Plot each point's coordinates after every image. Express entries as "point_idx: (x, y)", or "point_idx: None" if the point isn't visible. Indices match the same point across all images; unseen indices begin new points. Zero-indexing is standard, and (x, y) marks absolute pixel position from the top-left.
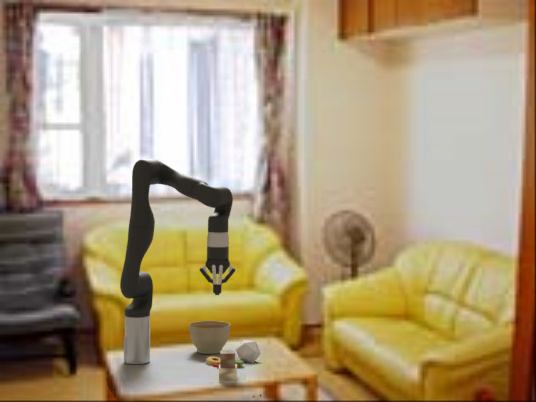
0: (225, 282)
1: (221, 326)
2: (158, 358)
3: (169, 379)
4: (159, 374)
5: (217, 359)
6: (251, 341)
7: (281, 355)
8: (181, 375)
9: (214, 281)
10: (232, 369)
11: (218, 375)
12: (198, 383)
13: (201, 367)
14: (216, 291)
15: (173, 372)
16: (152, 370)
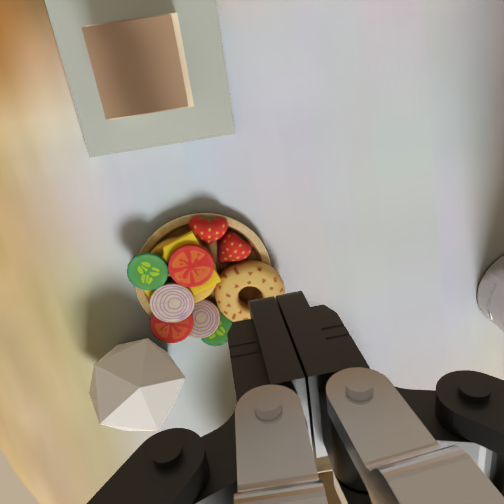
0: (157, 434)
1: None
2: (450, 337)
3: (391, 57)
4: (434, 129)
5: (243, 306)
6: (118, 416)
7: (44, 458)
8: (351, 128)
9: (375, 403)
10: (108, 22)
11: (197, 105)
12: (265, 5)
13: (293, 255)
14: (291, 312)
15: (385, 167)
16: (462, 183)
